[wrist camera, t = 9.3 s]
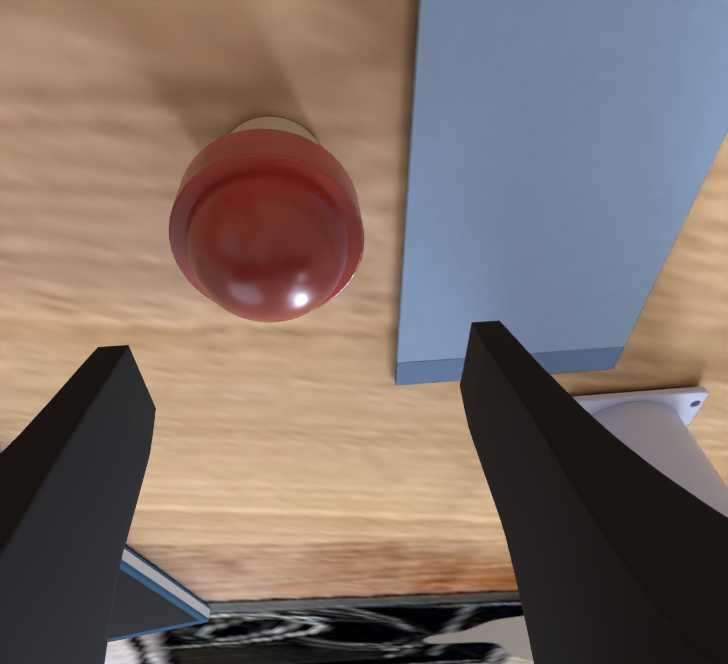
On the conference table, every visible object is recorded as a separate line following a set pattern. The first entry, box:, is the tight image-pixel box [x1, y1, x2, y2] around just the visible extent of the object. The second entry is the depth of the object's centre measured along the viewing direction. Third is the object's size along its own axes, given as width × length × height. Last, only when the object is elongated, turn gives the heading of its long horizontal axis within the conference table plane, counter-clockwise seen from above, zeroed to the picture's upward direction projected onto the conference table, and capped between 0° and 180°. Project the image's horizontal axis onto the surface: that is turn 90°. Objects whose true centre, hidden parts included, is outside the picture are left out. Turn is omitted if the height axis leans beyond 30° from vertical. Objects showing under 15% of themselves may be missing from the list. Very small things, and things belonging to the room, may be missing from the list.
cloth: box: [395, 0, 728, 385], centre depth 19 cm, size 20×11×1 cm, turn 0°
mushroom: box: [169, 117, 364, 322], centre depth 15 cm, size 5×5×7 cm
